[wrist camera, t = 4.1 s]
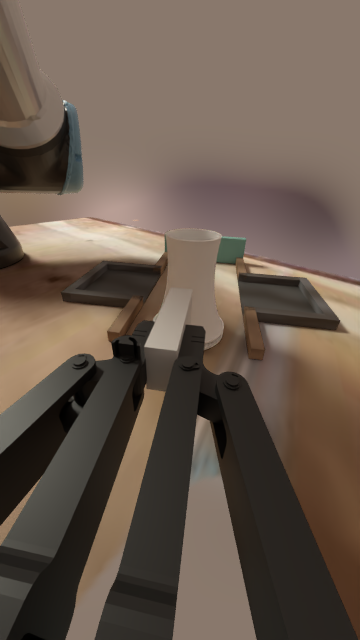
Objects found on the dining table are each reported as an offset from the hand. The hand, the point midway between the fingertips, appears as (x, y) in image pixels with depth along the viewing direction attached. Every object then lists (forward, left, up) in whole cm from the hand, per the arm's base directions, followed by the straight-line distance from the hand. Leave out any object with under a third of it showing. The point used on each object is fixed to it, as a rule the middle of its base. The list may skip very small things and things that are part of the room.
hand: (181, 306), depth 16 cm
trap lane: (-14, +8, -6) cm, 17 cm away
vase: (-6, +3, -7) cm, 9 cm away
